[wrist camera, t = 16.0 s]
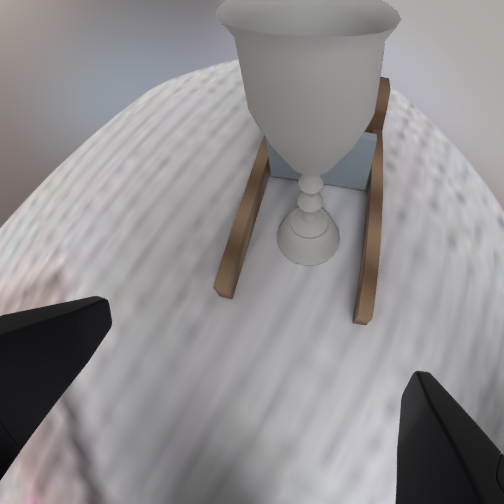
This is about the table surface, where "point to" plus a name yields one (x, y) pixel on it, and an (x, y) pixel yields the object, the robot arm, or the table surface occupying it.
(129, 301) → the table surface
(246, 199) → the brown wooden u-shaped piece
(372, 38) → the chalice
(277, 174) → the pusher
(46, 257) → the table surface
